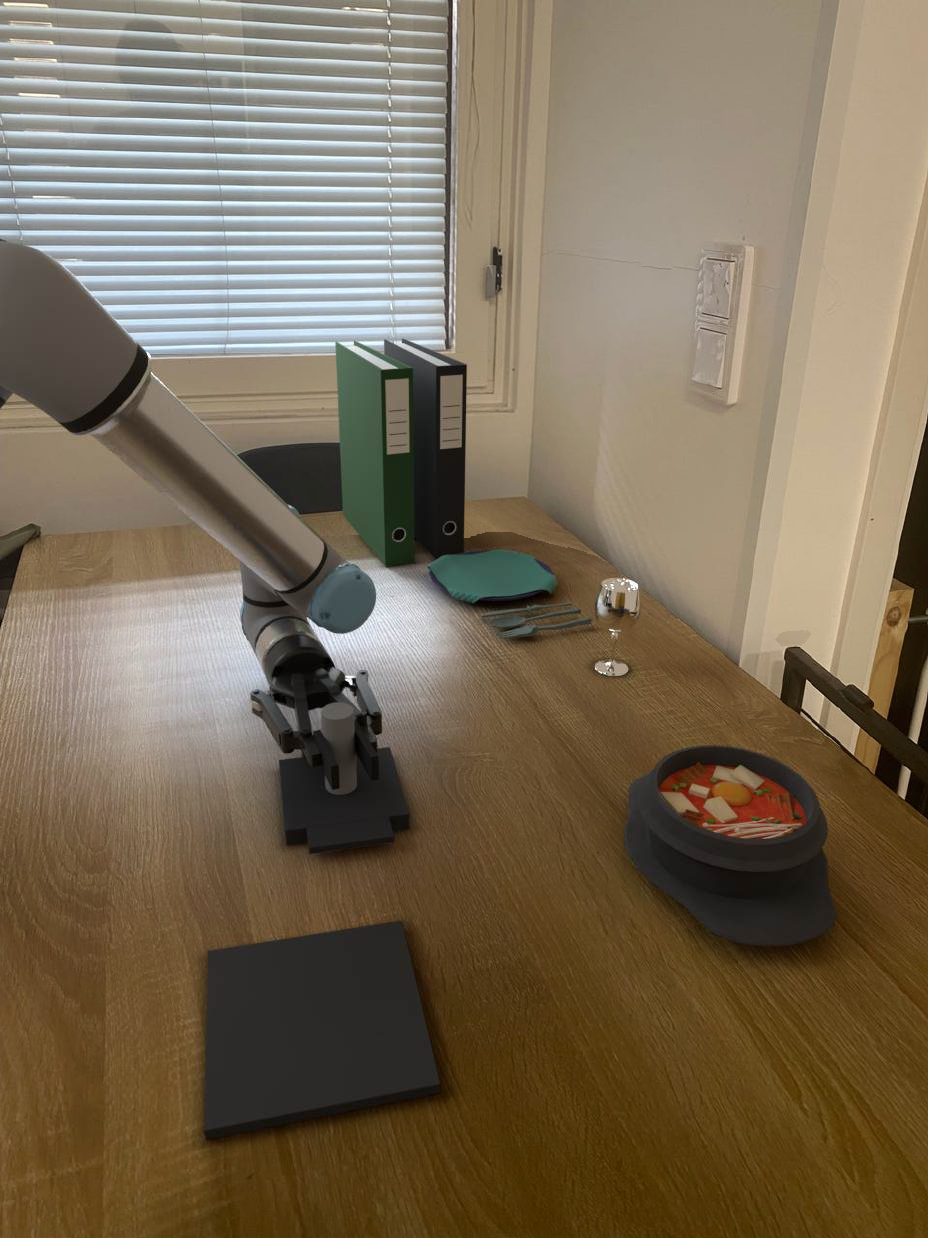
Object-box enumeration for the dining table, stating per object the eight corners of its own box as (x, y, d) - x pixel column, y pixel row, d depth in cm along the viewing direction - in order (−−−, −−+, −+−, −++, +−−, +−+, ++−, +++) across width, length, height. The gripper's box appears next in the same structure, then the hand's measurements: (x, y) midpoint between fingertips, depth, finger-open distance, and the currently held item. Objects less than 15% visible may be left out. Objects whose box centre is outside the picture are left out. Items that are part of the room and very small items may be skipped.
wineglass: (585, 658, 123) (592, 576, 117) (626, 657, 123) (635, 575, 118) (595, 679, 117) (603, 595, 112) (638, 678, 118) (648, 593, 113)
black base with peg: (288, 866, 85) (280, 770, 80) (279, 773, 98) (272, 686, 93) (415, 848, 87) (414, 754, 83) (390, 760, 100) (388, 675, 96)
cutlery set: (524, 555, 156) (525, 542, 155) (605, 629, 131) (606, 614, 130) (413, 568, 150) (413, 555, 149) (475, 648, 125) (476, 633, 124)
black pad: (205, 1141, 60) (203, 1131, 60) (209, 959, 74) (207, 950, 74) (440, 1093, 64) (440, 1084, 63) (401, 928, 78) (401, 919, 77)
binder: (339, 515, 173) (331, 341, 159) (412, 506, 178) (410, 337, 164) (385, 566, 151) (380, 369, 137) (467, 554, 156) (470, 364, 142)
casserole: (887, 948, 77) (909, 871, 73) (679, 977, 74) (692, 897, 70) (751, 775, 99) (763, 709, 95) (587, 792, 96) (593, 724, 92)
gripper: (363, 678, 110) (434, 786, 91) (227, 704, 104) (273, 825, 85) (361, 622, 107) (435, 722, 88) (221, 646, 101) (266, 758, 82)
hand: (355, 772), depth 86 cm, fingers closed on black base with peg, 3 cm apart
